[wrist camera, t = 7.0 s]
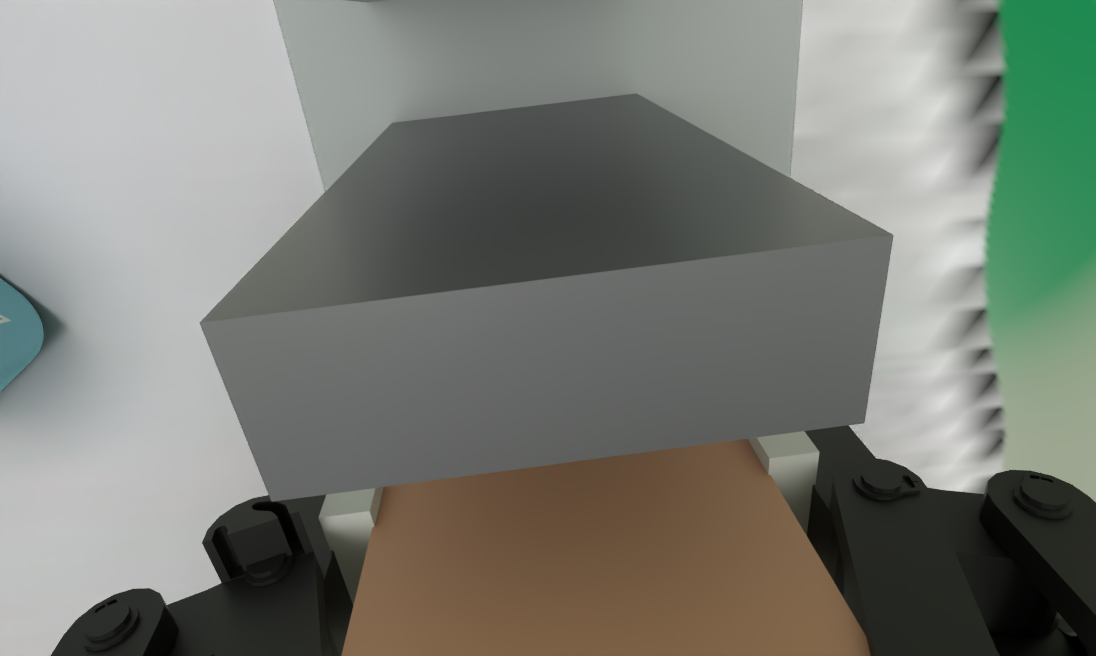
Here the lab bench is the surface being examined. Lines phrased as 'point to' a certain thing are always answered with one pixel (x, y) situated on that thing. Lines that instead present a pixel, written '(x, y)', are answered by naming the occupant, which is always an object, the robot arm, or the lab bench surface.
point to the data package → (17, 333)
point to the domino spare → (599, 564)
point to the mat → (542, 64)
